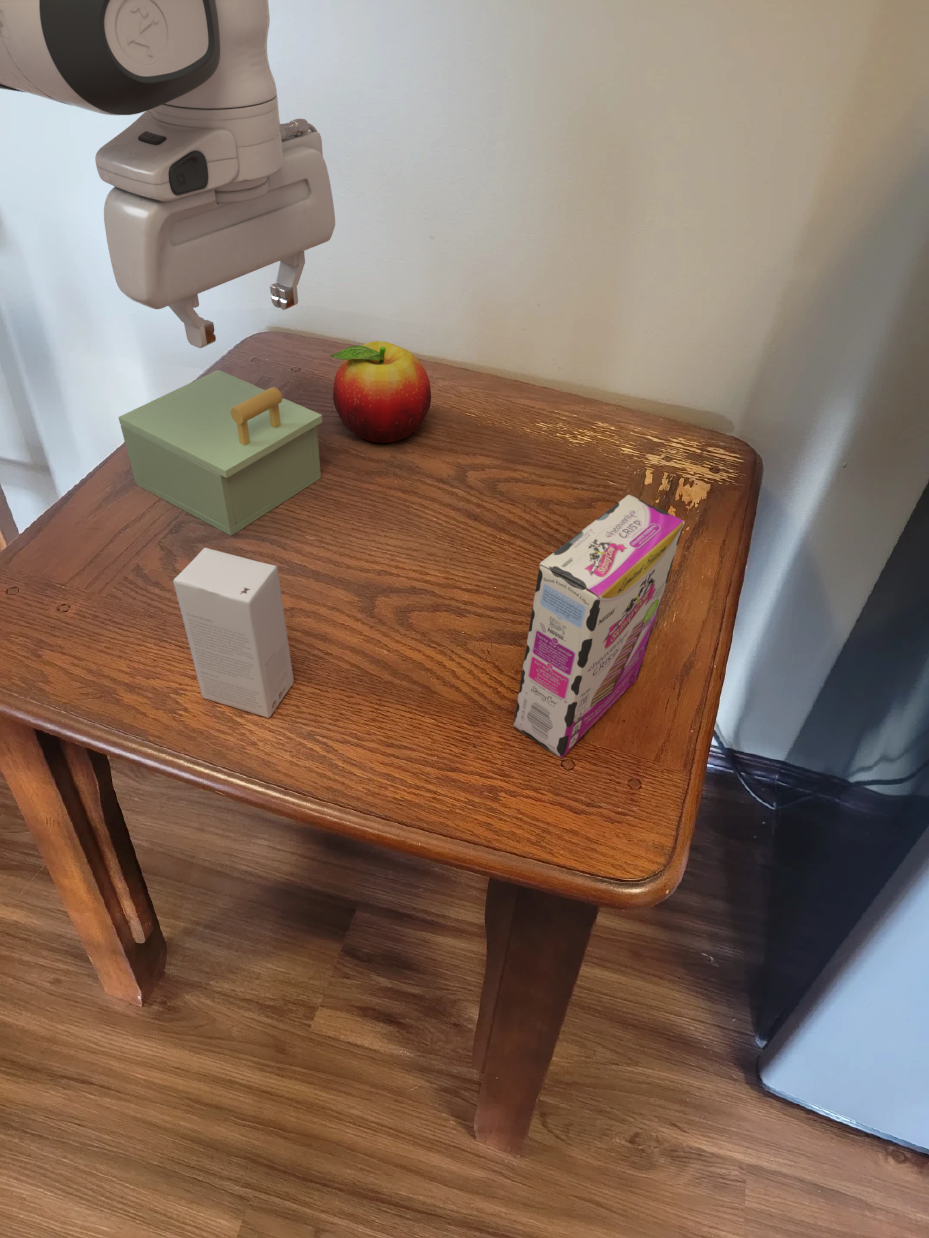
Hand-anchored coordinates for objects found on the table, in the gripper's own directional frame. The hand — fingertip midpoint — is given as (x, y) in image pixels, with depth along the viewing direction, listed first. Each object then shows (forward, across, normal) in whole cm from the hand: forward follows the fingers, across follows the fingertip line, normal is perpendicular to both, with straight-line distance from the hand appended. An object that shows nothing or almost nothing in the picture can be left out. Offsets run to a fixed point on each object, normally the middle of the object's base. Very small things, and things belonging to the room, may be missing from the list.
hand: (245, 324), depth 71 cm
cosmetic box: (+19, +18, +16) cm, 31 cm away
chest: (+19, -1, -6) cm, 20 cm away
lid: (+12, -1, -6) cm, 13 cm away
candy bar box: (+19, +4, +37) cm, 42 cm away
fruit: (+19, -18, -1) cm, 27 cm away
